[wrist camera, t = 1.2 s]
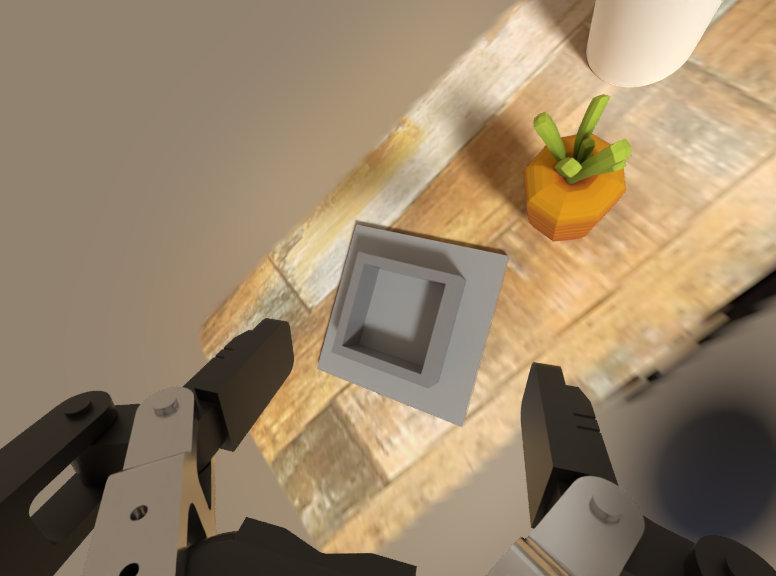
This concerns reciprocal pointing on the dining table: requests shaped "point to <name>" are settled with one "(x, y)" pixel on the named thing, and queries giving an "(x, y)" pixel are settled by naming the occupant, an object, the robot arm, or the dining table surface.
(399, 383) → the sleeve stand
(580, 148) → the carrot
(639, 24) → the cylindrical container
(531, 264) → the dining table surface
